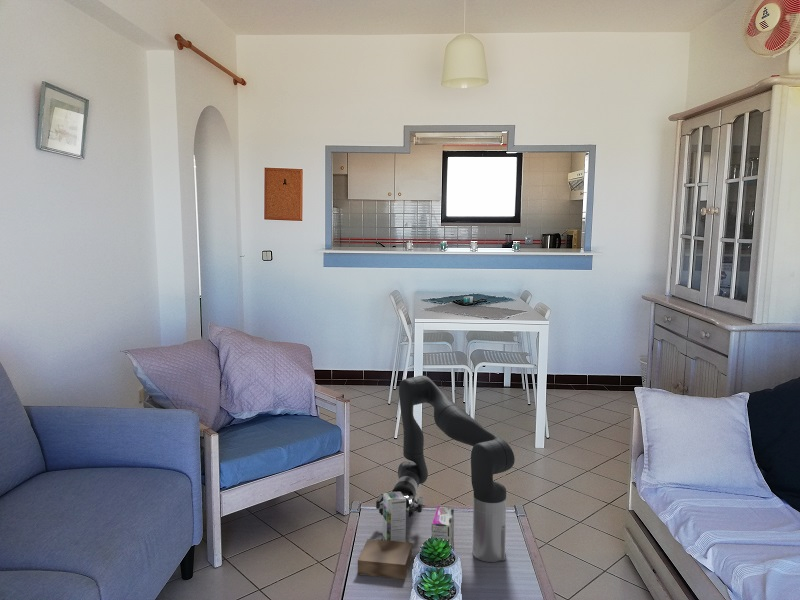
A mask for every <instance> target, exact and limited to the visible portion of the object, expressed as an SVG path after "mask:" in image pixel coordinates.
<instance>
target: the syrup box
mask: <svg viewBox="0 0 800 600" xmlns="http://www.w3.org/2000/svg"><path fill="white" fill-rule="evenodd" d="M382 494H383V515H382V540H387V541H398V542H406V534H407V533H406V532H407V531H406V530H407V529H406V528H407V527H406V525H407V523H406V522H407V510H406V498H405V497H404V495H403V494H402V493H401V492H392V491H390V492H384V493H382Z"/></svg>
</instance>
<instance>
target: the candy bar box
mask: <svg viewBox="0 0 800 600" xmlns="http://www.w3.org/2000/svg"><path fill="white" fill-rule="evenodd" d="M432 537H434V538H442V539H444V540H448V541H449V542H450V544H451V546H452V549H453V551H454V552H455V507H453V506H452V507H451V506H445V505H444V506H442V505H437V506H436V510H435V513H434V516H433V518H432V522H431V538H432Z"/></svg>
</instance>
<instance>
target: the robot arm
mask: <svg viewBox="0 0 800 600" xmlns="http://www.w3.org/2000/svg"><path fill="white" fill-rule="evenodd" d="M398 397H399V405H400V406H399V408H400V414H401V415H400V416H401V422H402V430H403V446H402V447H403V448H402V450H403V452H402V453H403V457H404V459H406V460H408V461H402V462H401V463H400V464H399V466H398V467H397V477H398V479H397V481H396V483H395V484H394V487H393V488H392V490H391V492H401V493H402V494H403V495H404V497H405V498H406V511H408V518H412V517H414V515H415V514H416V512H417V513H422V511H423V505H424V500H423V499H424V497H422V496H419V497H418V498H416V496H417V494H418V493H417V492H418V488H419V485H422V484H423V485H424V483H425V482H427V479H428V477H429V476H428V475H429V472H428V470H429V469H428V467H427V464H426V460H425V457H424V456H425V455H424V450H425V449H424V445H425V443H424V442H425V439H424V438H425V437H424V432H423V430H422V428H421V427H420V425H419V424H418V422H417V420H416V419H415V417H414V413H413V412H414V410H413V408H414V406H417V405H421V404H425V403H426V404H429V405H431V406H432V407H433V419H434V423H435V425H436V426H437V428H438V429H439V430H441V431H442V432H443V433H444V435H446V436H448V437H449V438H450V439H452V440H454V441H456V442H459V443H462V444H464V445H468V446H470V447H472V448H471V452H470V472H471V473H470V475H471V477H470V479H471V487H472V489H473V490H472V491H473V503H472V504H473V505H472V506H473V507H472V508H473V510H472V513H473V515H472V556H474V557H475V558H476V559H477V560H479V561H483V562H488V563H491V562H492V563H496V562H499V561H505V560H506V531H507V530H506V529H507V527H506V526H507V525H506V523H507V517H506V516H507V515H506V514H507V488H506V487H505V485H504V484H502V483H500V482H497V481H495V480H494V475H497V474H501V473H505V472H507V471H509V470H511V469H512V468H513V466H514V464H515V454H514V451H513V449H512V448H511V446H510V444H509V443H508V442H507V441H505V440H504V439H503V438H501V437H500V436H498V435H497V434H495V433H493V431H491V430H489V429H487V428H486V427H484V426H483V425H482V424H481V423H479V422H478V421H477V420H475V418H473V417H472V416H471V415H469V414H468V413H467V412H466V410H464V409H463V408H462V407H460V406H459V405H458V404H456V403H455V402H454V401H453V400H452V399H450V397H448V396H447V395H446V394H445V393H444V392H443V391H442V390H441V389H440V388H439V387H438V385H436V383H435V381H433V380H432V379H431V378H430V377H428V376H426V375H418V376H417V375H416V376H413V377H408V378H405V379H402V380H401V381H400V383H399V386H398ZM383 494H384V493H380V494H379V495H378V497H377V499H376V500H375V509H377V510H378V514H380V516H383Z"/></svg>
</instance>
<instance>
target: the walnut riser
mask: <svg viewBox="0 0 800 600" xmlns="http://www.w3.org/2000/svg"><path fill="white" fill-rule="evenodd" d="M412 558H413V542H408V541H405V542H398V541H387V540H383V539H375V538H373V539H372V538H367V539H366V542H365V543H364V545H363V548H362V550H361V553H360V554H359V556H358V559H357V575H359V576H371V577H379V578H380V577H382V578H388V579H389V578H391V579H401V580H402V579H403V580H405V579H406V578H407V575H408V572H409V568H410V566H411V565H410V564H411V561H412Z"/></svg>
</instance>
